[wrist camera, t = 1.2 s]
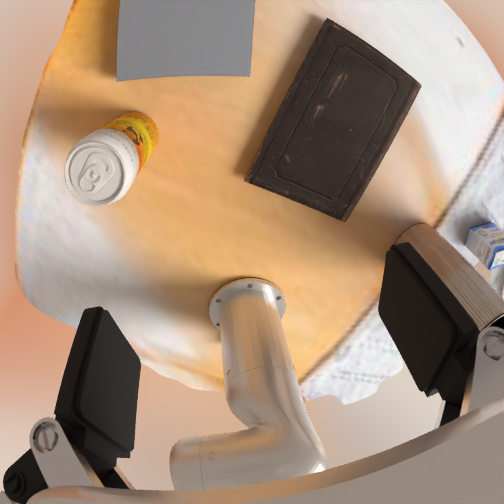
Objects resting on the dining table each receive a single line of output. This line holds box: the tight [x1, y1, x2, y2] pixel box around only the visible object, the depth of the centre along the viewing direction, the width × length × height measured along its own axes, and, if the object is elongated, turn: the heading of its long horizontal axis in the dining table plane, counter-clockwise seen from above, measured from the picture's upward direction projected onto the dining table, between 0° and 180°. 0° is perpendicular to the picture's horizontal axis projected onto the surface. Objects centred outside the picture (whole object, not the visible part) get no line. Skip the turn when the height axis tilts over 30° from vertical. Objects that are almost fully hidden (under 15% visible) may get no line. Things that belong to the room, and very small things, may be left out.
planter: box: [395, 224, 504, 332], centre depth 39 cm, size 10×10×23 cm
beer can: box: [65, 112, 159, 206], centre depth 27 cm, size 6×6×15 cm
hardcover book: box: [244, 18, 421, 222], centre depth 35 cm, size 16×23×2 cm
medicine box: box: [465, 223, 504, 270], centre depth 46 cm, size 8×4×9 cm, turn 99°
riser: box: [117, 0, 255, 82], centre depth 24 cm, size 14×14×4 cm
